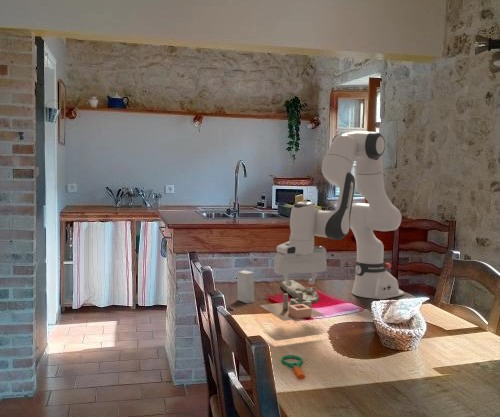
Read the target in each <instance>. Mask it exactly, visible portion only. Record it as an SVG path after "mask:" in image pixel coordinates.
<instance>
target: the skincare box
mask: <svg viewBox="0 0 500 417" xmlns="http://www.w3.org/2000/svg"><path fill="white" fill-rule="evenodd" d="M236 273H237V274H236V277H237V278H236V279H237V280H236V281H237V301H239V302H242V303H244V304H245V303H246V304H251V303H254V302H255V272H253V271H250V270H249V271H248V270H245V269H244V270H240V271H237V272H236Z"/></svg>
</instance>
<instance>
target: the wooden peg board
mask: <svg viewBox="0 0 500 417" xmlns="http://www.w3.org/2000/svg"><path fill="white" fill-rule="evenodd" d="M282 295H283V296H282V302H279V303H278V302H277V303H268V304H260V305H259V307H261V308H263V309H265V310H266V311H267V312H270V313H271V314H273V315H274V316H275V317H276V318H278V319H280V320H282V322H283V321H292V320H297V319H301V318H295V317H294V316H292V315H290V314H289V306H290V305H298V304H304V305H306V306H308V307H310V308H312V304H313V303H312V302H311V301H309V300H307V299H305V298H303V292H298V298H296V299H294V298H289V295H288V294H287V293H283V294H282ZM321 316H325V314H324V313H322V312H320V311H318V310H316V309H314V308H312V310H311V317H310V318H316V317H321ZM307 318H309V317H303V318H302V319H307Z"/></svg>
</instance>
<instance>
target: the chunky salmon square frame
mask: <svg viewBox="0 0 500 417" xmlns="http://www.w3.org/2000/svg"><path fill="white" fill-rule="evenodd" d="M312 309H313V307H311V308H310V307H308V306H306V305H304V304H298V305H290V306H289V314H290V315H292V316H294V317H295V318H300V319H304V318H303V317H308V318H312V317H311V310H312Z"/></svg>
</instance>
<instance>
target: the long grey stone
mask: <svg viewBox="0 0 500 417" xmlns="http://www.w3.org/2000/svg"><path fill="white" fill-rule="evenodd" d="M289 280H290V281H292V283H291V284H292V285H291V286H286V281H285V280H283V281H281V283H280V286H281V289H282V290H283V291H284V292H286V294H289V295H288V296H290V295H291V296H292V297H291V296H290V297H291V299H294V298H295V299H296V298H298V292H303V298H305V299H307V300H309V301H311V302H312V304H313V303H314V304H315V303H318V302H319V301H320V295H319V294H318V292H317V288H316V287H314V286H313V287H308V286H306V287H305V286H303V285H302V284H301V283H299V282H297V281H296V280H294V279H289Z"/></svg>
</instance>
